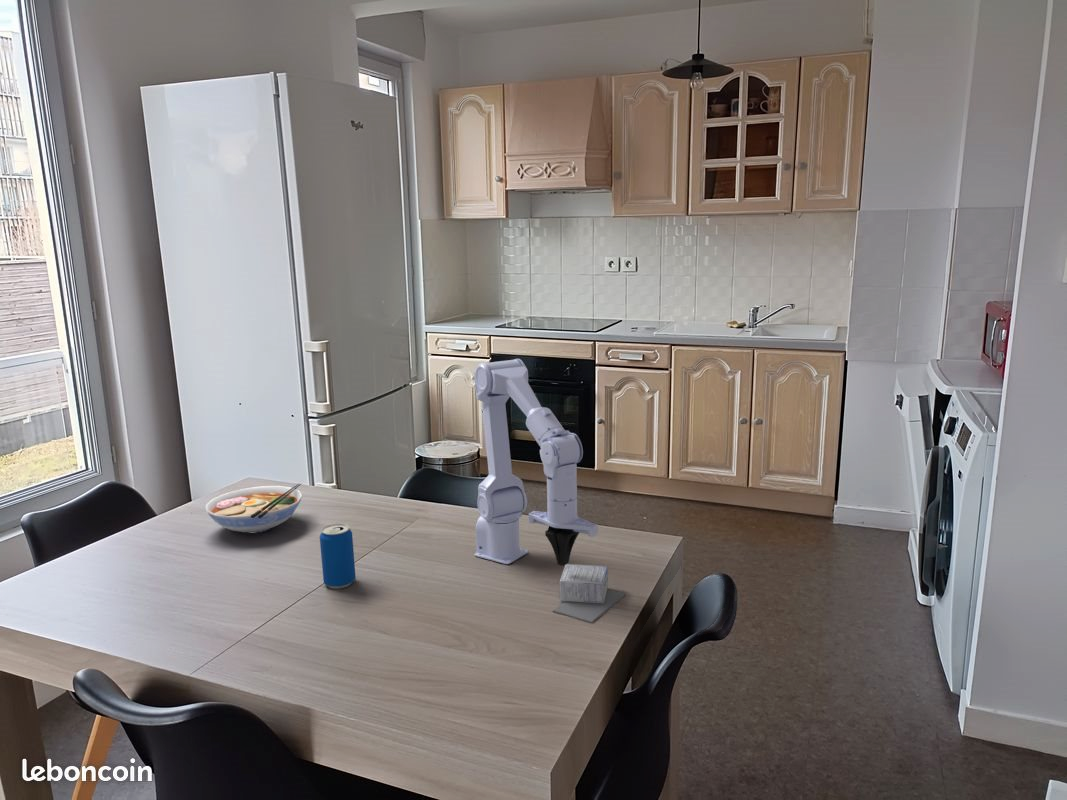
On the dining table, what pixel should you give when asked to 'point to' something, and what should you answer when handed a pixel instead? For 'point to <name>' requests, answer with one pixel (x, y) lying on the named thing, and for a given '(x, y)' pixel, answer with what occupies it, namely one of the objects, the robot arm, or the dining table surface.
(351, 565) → the beverage can
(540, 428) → the robot arm
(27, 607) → the dining table surface
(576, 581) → the medicine box
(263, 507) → the ramen bowl
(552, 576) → the dining table surface
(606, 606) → the mat
